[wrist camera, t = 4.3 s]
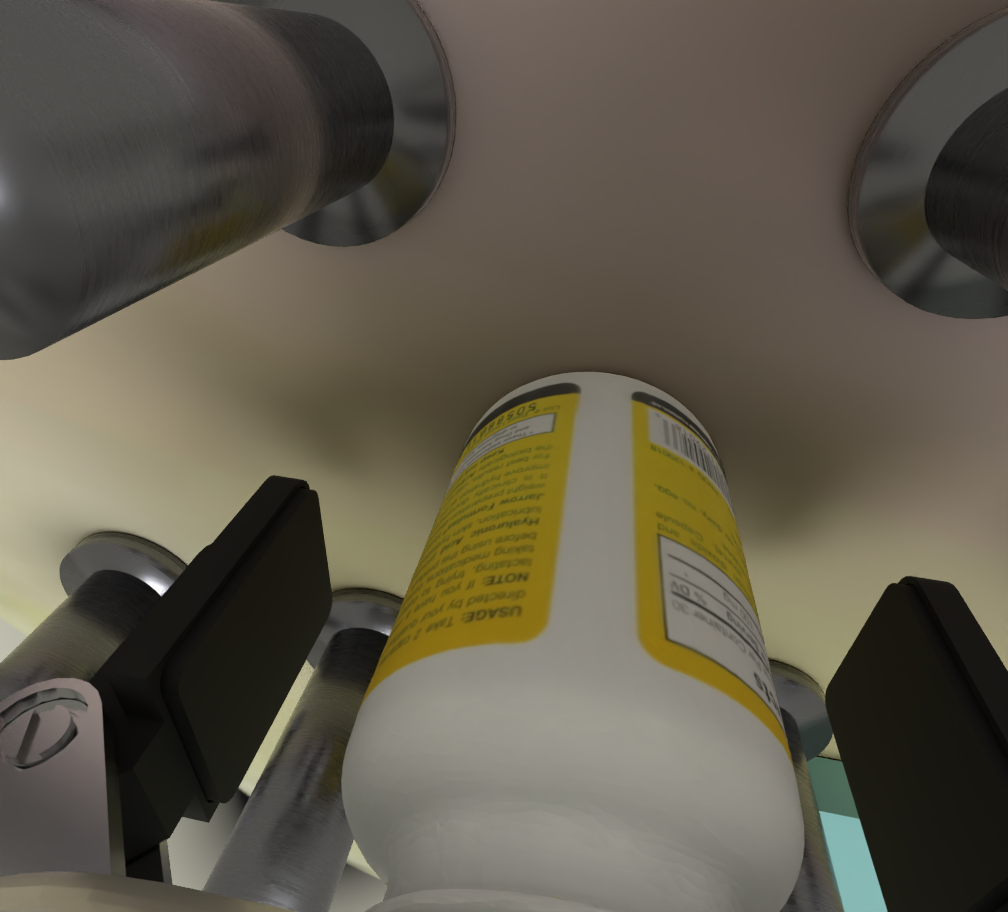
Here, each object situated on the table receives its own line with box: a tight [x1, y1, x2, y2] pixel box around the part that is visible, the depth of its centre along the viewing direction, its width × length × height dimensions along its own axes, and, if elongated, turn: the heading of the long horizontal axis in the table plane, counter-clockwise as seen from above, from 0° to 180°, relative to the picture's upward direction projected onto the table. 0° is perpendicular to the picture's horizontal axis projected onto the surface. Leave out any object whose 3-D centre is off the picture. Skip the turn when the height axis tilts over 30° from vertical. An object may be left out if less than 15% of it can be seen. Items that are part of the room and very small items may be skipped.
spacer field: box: [0, 0, 1008, 912], centre depth 10 cm, size 17×27×7 cm, turn 86°
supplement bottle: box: [341, 372, 805, 912], centre depth 9 cm, size 5×5×10 cm
